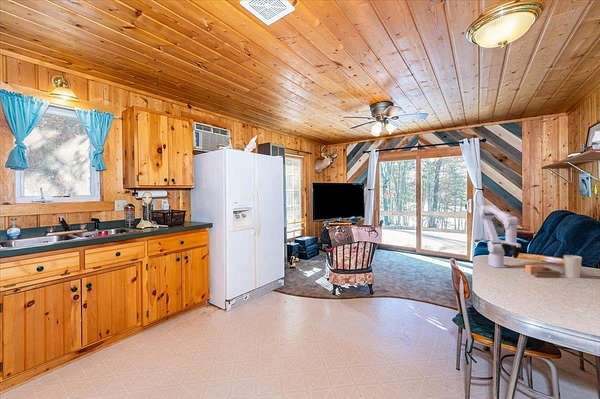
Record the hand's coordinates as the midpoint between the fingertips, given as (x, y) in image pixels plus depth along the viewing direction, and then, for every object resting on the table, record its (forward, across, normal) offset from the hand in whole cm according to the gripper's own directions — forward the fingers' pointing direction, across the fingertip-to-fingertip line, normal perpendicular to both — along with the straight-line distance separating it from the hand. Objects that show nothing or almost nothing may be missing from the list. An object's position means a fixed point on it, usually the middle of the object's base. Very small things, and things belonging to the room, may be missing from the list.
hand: (511, 256), depth 178 cm
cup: (+10, +9, +30) cm, 33 cm away
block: (+10, +2, +12) cm, 16 cm away
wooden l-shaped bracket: (+10, +4, +14) cm, 17 cm away
